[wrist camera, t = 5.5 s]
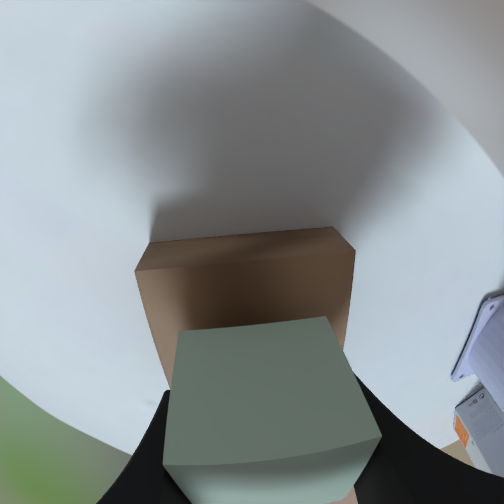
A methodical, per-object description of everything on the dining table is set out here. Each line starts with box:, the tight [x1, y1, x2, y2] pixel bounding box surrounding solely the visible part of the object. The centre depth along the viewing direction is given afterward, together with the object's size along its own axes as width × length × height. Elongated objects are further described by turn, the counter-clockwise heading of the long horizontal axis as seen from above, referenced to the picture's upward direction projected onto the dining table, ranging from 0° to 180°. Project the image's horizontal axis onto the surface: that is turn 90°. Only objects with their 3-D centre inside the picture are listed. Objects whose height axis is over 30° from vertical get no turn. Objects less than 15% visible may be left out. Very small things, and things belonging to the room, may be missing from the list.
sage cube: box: [163, 316, 382, 504], centre depth 9 cm, size 5×5×5 cm
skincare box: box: [453, 387, 504, 477], centre depth 18 cm, size 6×4×12 cm
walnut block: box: [134, 227, 356, 390], centre depth 14 cm, size 8×8×3 cm
